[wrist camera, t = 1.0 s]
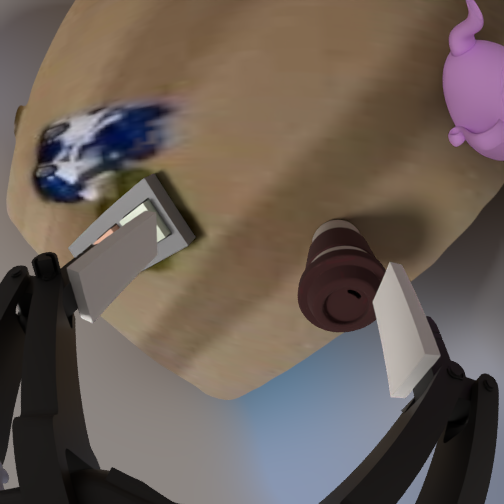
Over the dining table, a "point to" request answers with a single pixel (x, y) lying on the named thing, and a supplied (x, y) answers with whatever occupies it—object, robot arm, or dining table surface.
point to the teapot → (475, 87)
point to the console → (128, 203)
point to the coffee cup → (339, 279)
